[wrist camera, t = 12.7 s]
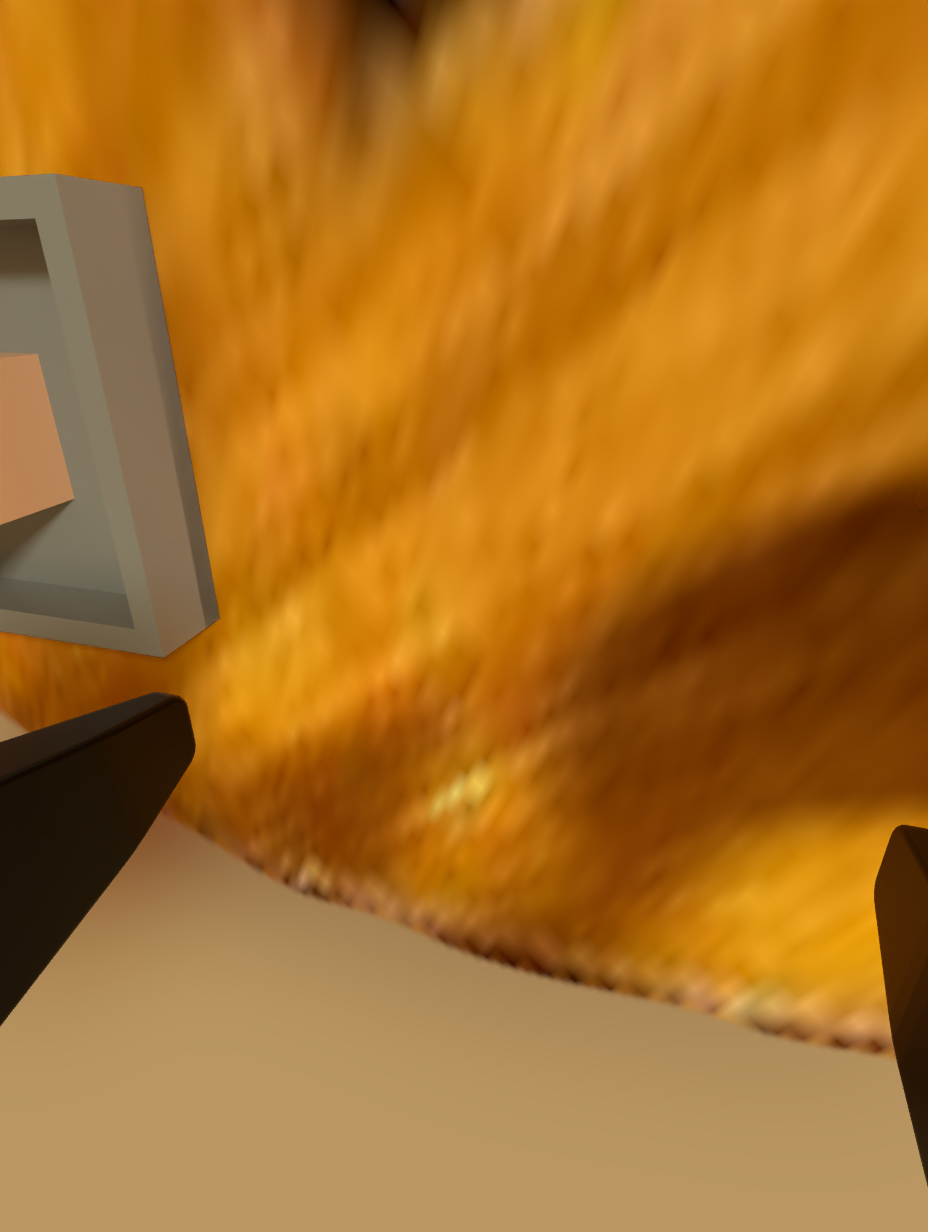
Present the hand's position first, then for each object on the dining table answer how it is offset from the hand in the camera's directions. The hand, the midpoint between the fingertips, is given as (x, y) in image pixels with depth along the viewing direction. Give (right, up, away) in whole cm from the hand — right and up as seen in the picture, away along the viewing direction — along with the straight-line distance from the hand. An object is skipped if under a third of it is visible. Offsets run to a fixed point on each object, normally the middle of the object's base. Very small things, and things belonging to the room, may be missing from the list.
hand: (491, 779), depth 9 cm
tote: (-15, +9, +15) cm, 23 cm away
